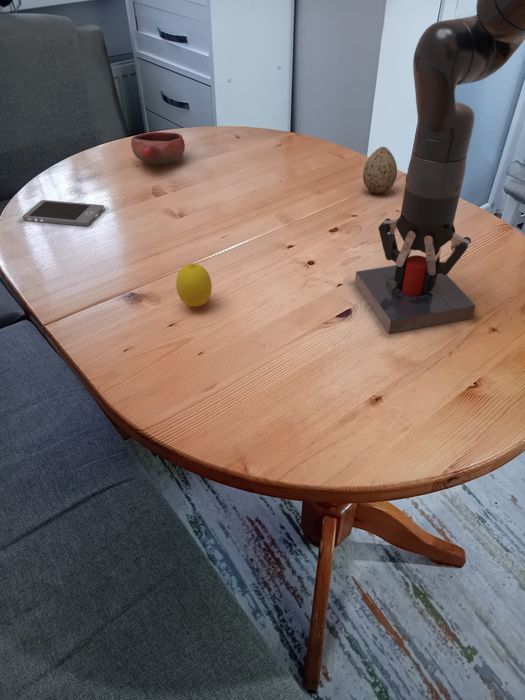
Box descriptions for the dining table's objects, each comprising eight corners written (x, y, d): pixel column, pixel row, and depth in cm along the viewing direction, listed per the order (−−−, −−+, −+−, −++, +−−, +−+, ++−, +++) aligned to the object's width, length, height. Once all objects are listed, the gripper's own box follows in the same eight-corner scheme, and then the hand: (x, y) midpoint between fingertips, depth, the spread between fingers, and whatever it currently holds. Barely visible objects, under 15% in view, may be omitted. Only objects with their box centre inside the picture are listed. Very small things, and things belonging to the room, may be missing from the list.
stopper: (417, 285, 88) (423, 253, 84) (427, 297, 86) (434, 265, 82) (397, 288, 88) (402, 257, 84) (406, 301, 85) (413, 269, 81)
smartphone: (21, 220, 112) (20, 217, 111) (42, 202, 118) (41, 199, 117) (87, 226, 109) (86, 223, 108) (105, 208, 115) (104, 205, 114)
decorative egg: (392, 185, 120) (399, 141, 114) (395, 200, 115) (402, 153, 109) (360, 185, 121) (364, 140, 115) (361, 199, 116) (366, 153, 109)
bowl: (129, 159, 136) (123, 127, 130) (177, 150, 139) (173, 118, 134) (146, 183, 124) (140, 148, 119) (198, 172, 128) (195, 139, 123)
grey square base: (429, 271, 94) (432, 259, 92) (472, 318, 84) (476, 305, 82) (354, 283, 91) (355, 271, 90) (388, 333, 81) (391, 320, 80)
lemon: (173, 312, 87) (166, 269, 81) (189, 293, 90) (184, 252, 85) (204, 319, 85) (199, 276, 80) (219, 300, 89) (215, 258, 83)
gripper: (492, 184, 74) (464, 288, 86) (394, 165, 80) (380, 265, 91) (478, 206, 69) (450, 312, 81) (375, 184, 75) (362, 287, 86)
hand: (413, 287), depth 86 cm, fingers closed on stopper, 3 cm apart
